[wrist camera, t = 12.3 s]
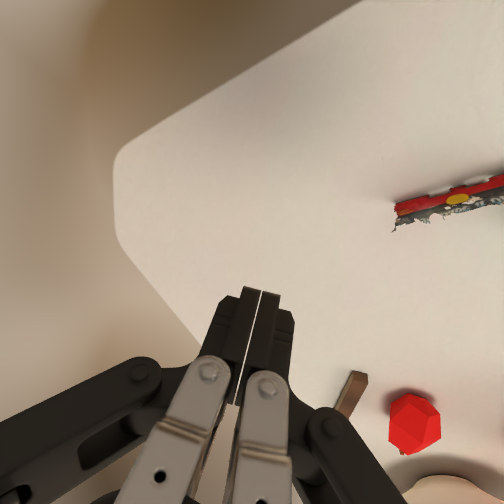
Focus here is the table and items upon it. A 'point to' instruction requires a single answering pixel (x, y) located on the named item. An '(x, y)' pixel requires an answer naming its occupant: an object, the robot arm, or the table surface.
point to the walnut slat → (352, 393)
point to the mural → (451, 201)
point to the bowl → (447, 492)
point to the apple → (413, 424)
